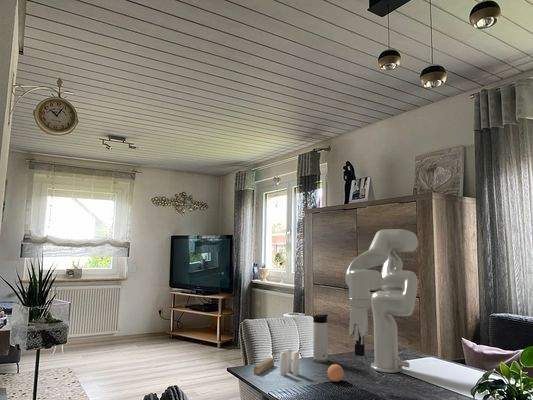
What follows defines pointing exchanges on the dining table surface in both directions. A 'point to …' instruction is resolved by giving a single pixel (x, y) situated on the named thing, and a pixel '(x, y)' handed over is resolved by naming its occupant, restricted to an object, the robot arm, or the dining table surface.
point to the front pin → (296, 363)
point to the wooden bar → (263, 366)
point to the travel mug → (320, 338)
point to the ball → (335, 372)
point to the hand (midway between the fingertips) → (359, 355)
